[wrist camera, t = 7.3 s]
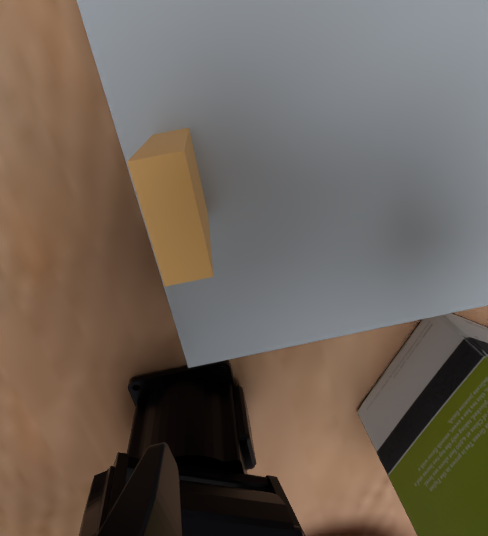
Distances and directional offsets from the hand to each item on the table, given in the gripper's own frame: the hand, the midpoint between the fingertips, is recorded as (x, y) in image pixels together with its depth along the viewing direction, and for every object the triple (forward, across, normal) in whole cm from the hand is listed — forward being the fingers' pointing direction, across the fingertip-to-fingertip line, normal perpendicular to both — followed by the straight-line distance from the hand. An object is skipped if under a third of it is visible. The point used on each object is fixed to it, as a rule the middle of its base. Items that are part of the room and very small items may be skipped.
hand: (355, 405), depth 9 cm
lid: (+8, -3, -4) cm, 10 cm away
